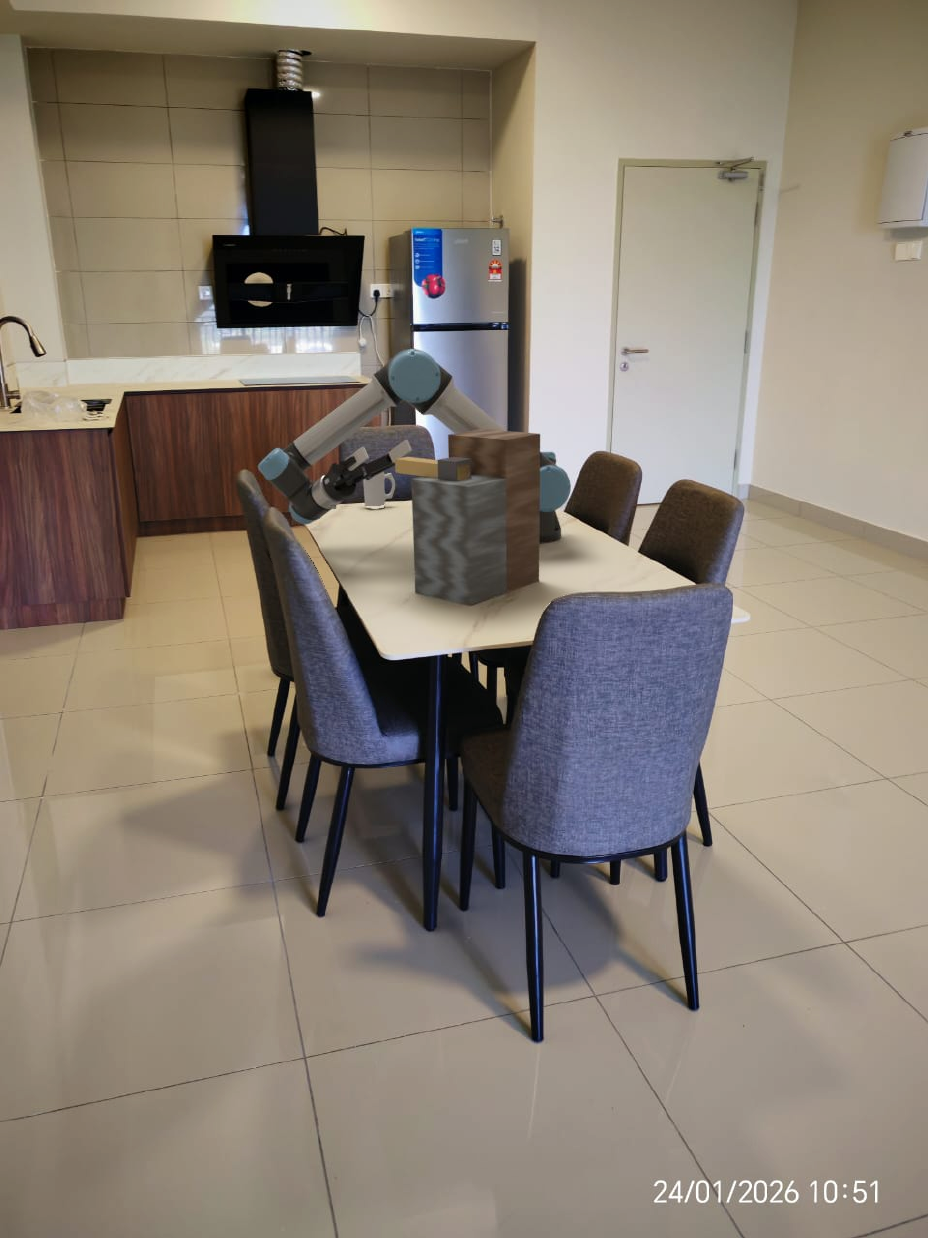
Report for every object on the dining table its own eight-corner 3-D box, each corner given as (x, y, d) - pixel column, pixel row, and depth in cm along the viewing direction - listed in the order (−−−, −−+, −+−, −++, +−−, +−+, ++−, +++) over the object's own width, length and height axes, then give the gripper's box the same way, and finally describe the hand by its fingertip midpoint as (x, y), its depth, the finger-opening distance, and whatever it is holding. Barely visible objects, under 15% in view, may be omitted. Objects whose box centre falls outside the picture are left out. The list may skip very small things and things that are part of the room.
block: (393, 472, 203) (393, 454, 202) (409, 469, 207) (409, 451, 205) (455, 481, 192) (455, 461, 191) (471, 477, 196) (471, 458, 194)
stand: (415, 592, 203) (409, 440, 193) (484, 569, 220) (483, 428, 210) (470, 605, 193) (468, 446, 183) (539, 580, 210) (540, 433, 200)
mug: (364, 510, 290) (362, 472, 286) (364, 506, 296) (362, 468, 292) (396, 509, 290) (394, 471, 287) (395, 505, 297) (394, 467, 293)
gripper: (378, 493, 230) (431, 456, 215) (300, 510, 212) (353, 471, 197) (366, 466, 230) (419, 427, 215) (287, 480, 212) (339, 439, 197)
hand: (387, 448), depth 206 cm, fingers open, 13 cm apart
